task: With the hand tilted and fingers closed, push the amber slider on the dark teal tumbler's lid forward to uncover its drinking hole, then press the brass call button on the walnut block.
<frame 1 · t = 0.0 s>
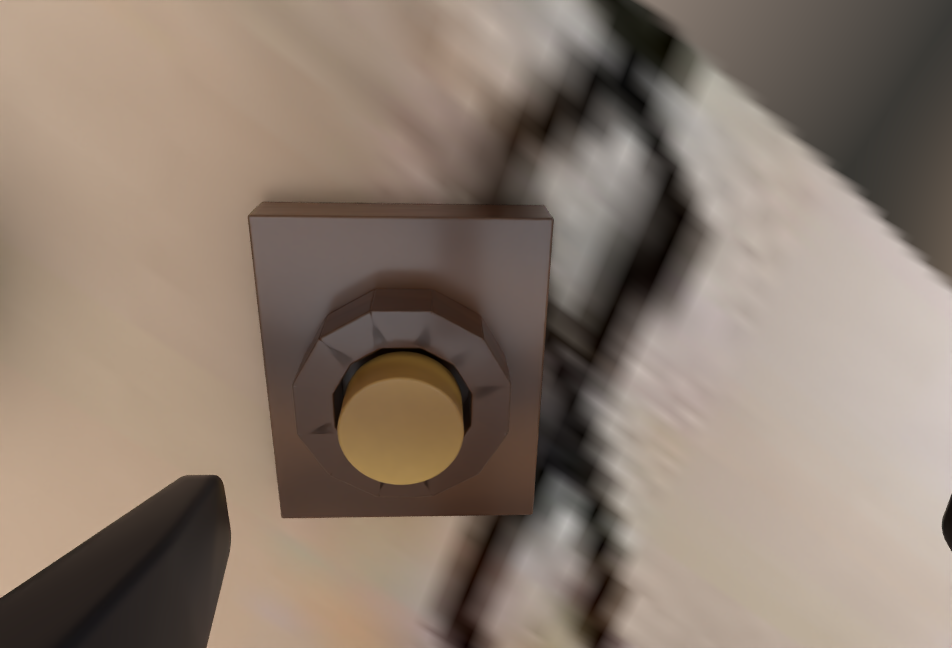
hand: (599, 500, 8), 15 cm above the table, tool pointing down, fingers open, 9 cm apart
call button: (402, 417, 20), point 4 cm above the table, slide at 0.1 cm
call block: (407, 358, 24), on the table
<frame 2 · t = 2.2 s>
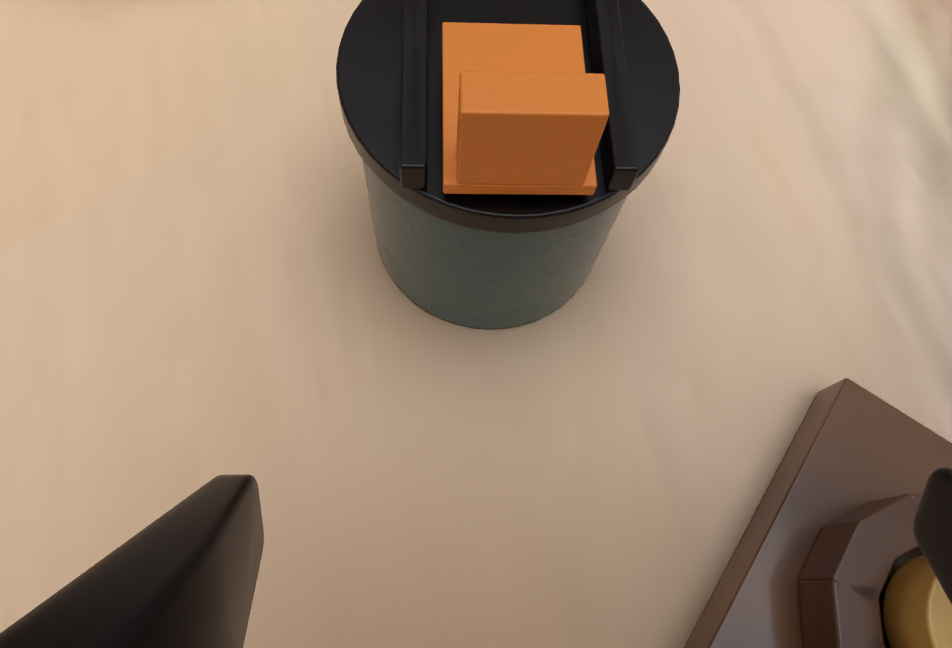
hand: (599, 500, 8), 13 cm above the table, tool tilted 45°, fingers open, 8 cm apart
slider: (521, 68, 15), point 10 cm above the table, slide at 0.0 cm
tumbler: (487, 225, 24), on the table
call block: (878, 621, 20), on the table
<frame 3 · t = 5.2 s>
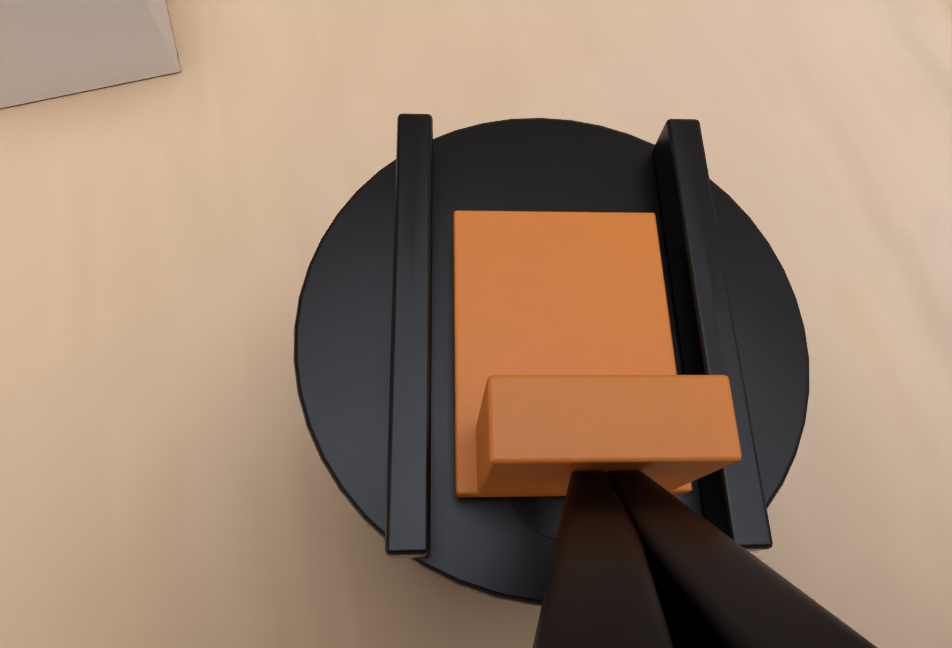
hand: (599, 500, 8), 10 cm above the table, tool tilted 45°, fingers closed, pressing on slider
slider: (577, 315, 9), point 10 cm above the table, slide at 1.1 cm, touching gripper
tumbler: (508, 433, 19), on the table
adhesive note: (80, 27, 23), on the table
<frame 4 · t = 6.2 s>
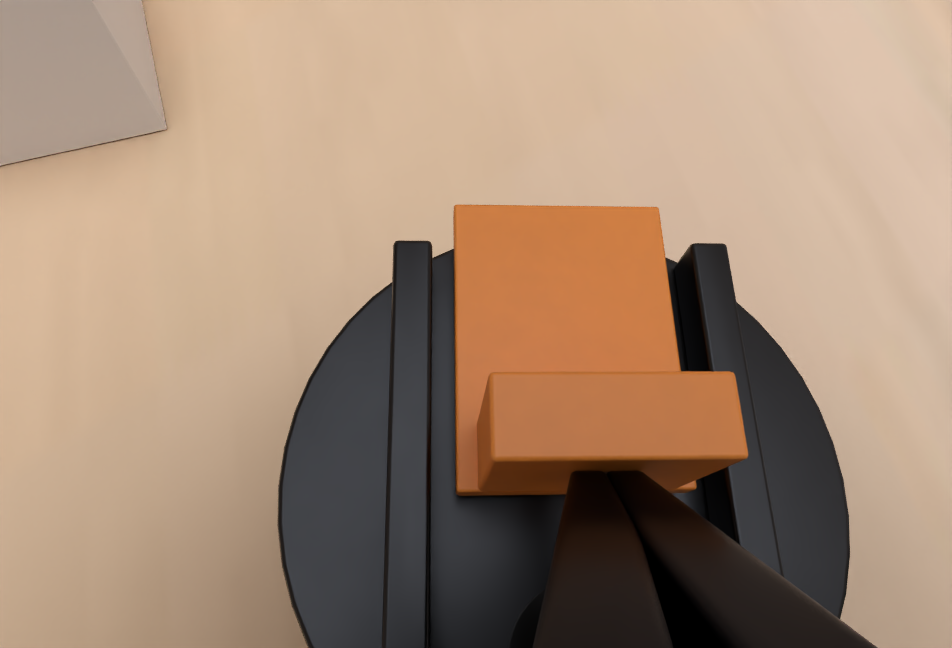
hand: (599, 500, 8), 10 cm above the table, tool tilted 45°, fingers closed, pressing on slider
slider: (580, 310, 9), point 10 cm above the table, slide at 3.7 cm, touching gripper
tumbler: (512, 527, 18), on the table
adhesive note: (62, 81, 22), on the table
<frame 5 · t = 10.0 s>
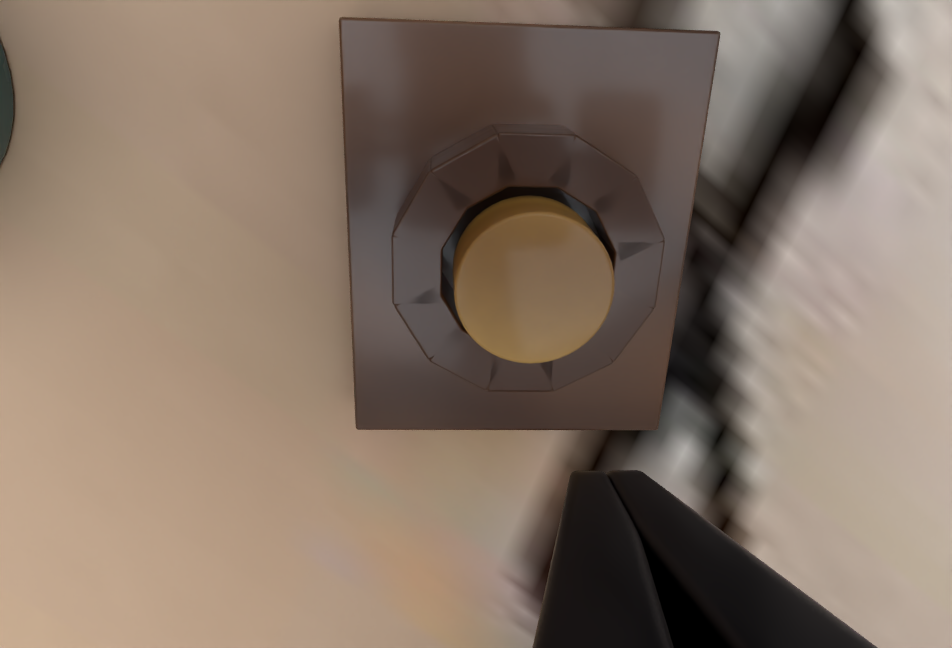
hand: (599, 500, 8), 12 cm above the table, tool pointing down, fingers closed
call button: (530, 279, 16), point 4 cm above the table, slide at 0.1 cm
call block: (513, 234, 19), on the table
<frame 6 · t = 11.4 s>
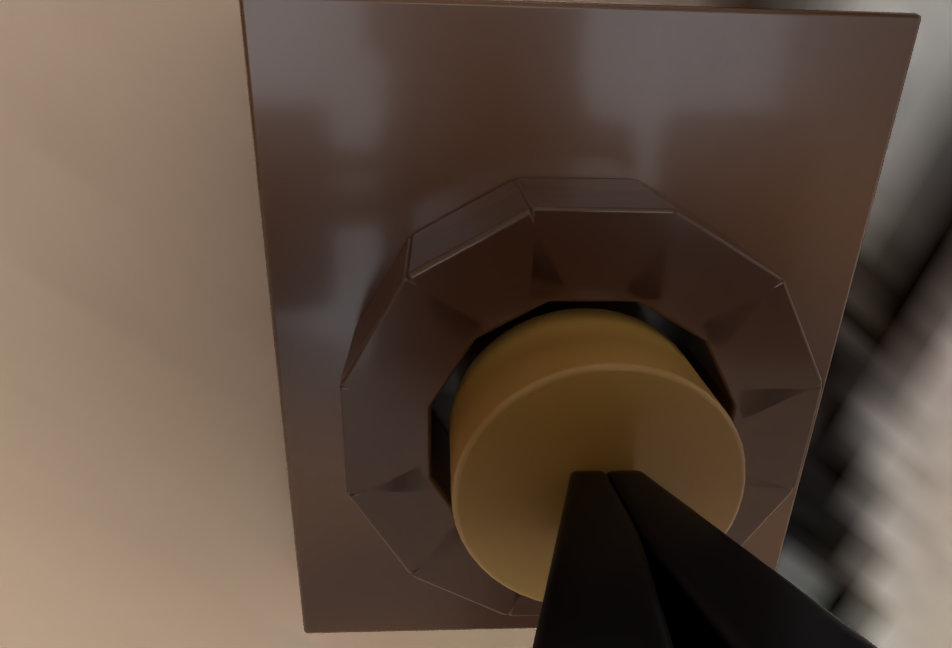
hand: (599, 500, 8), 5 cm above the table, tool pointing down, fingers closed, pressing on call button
call button: (585, 456, 9), point 4 cm above the table, slide at 0.0 cm, touching gripper
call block: (544, 335, 12), on the table
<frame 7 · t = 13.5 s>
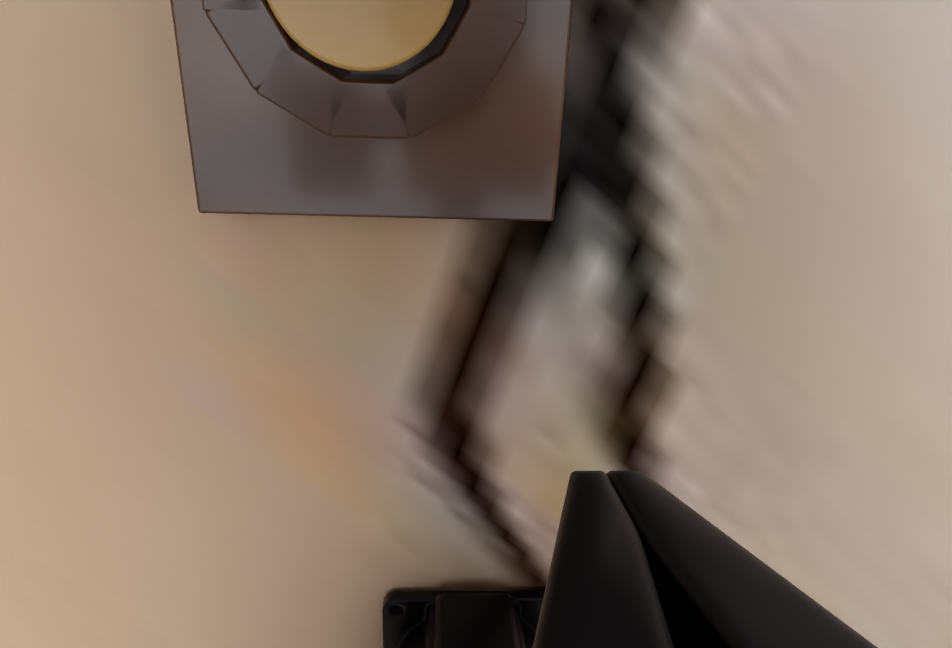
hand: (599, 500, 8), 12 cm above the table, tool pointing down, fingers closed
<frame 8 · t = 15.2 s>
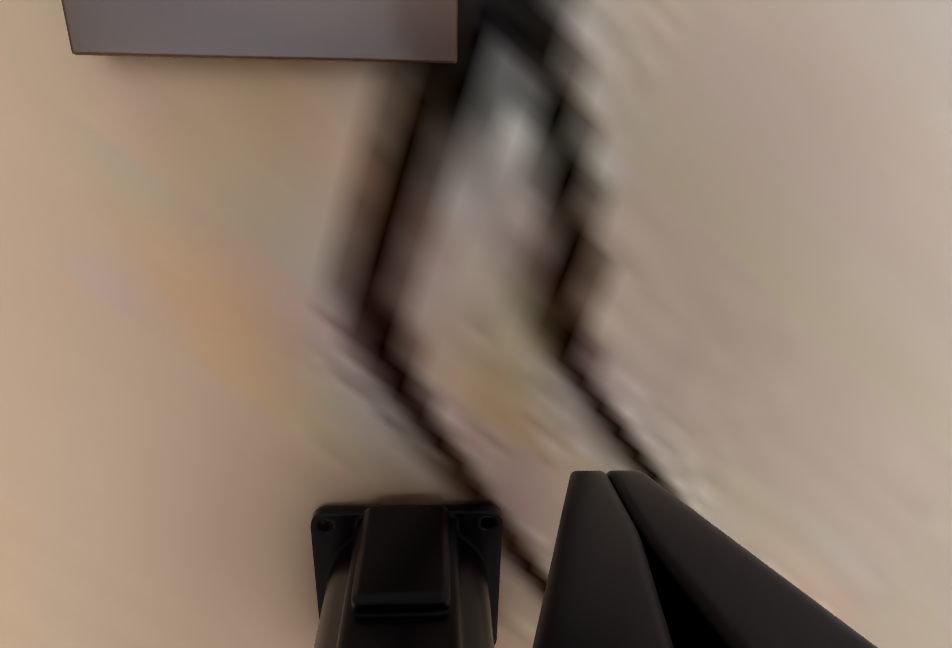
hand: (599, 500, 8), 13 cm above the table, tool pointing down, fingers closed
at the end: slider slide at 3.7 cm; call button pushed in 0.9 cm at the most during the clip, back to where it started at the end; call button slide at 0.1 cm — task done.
